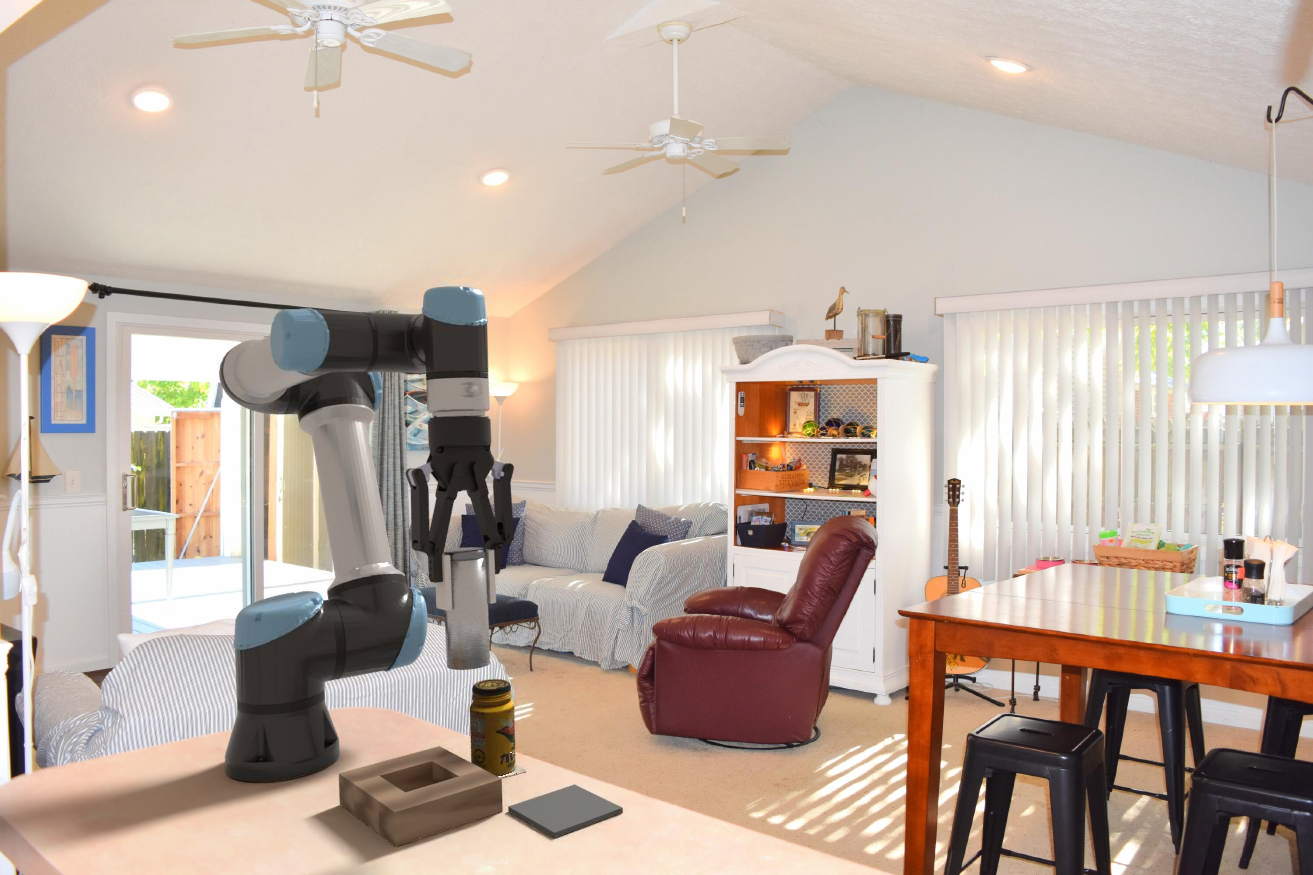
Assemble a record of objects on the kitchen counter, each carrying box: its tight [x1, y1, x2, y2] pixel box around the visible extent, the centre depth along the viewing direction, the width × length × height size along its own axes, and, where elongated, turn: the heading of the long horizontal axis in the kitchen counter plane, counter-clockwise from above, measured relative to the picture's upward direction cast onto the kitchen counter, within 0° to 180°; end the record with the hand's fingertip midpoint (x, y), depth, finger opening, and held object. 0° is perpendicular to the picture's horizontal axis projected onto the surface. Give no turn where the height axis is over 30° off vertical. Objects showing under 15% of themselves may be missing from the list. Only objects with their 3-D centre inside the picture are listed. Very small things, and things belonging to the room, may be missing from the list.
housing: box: [338, 745, 504, 848], centre depth 118 cm, size 16×14×4 cm
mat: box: [507, 784, 624, 839], centre depth 116 cm, size 10×10×1 cm
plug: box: [443, 546, 491, 671], centre depth 116 cm, size 5×5×14 cm
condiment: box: [469, 678, 527, 777], centre depth 130 cm, size 7×8×12 cm
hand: (466, 604), depth 116 cm, fingers closed on plug, 5 cm apart
